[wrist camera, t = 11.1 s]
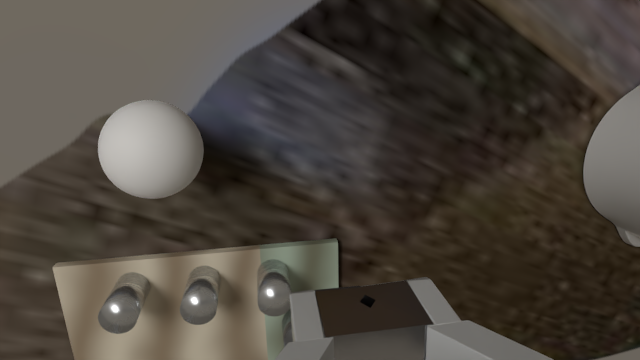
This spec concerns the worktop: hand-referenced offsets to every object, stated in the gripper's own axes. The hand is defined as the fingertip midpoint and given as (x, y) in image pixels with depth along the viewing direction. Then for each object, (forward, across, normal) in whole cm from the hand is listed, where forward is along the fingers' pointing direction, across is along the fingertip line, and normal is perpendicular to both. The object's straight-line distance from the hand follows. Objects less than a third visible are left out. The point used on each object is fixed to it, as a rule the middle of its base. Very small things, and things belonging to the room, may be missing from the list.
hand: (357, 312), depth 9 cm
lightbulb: (+28, +9, 0) cm, 29 cm away
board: (+27, +8, +20) cm, 35 cm away
